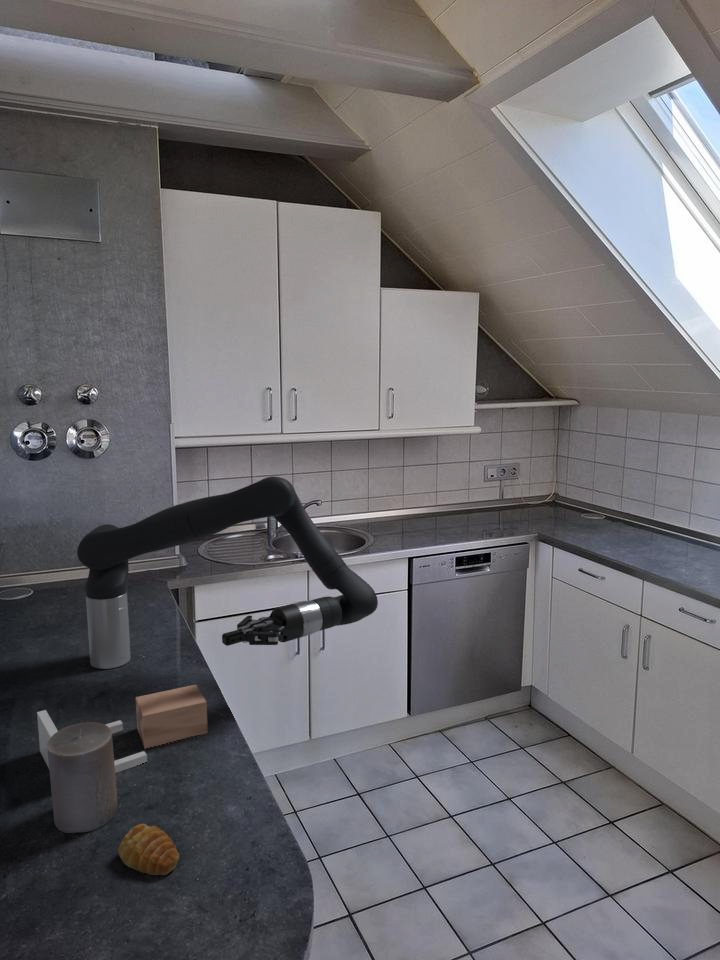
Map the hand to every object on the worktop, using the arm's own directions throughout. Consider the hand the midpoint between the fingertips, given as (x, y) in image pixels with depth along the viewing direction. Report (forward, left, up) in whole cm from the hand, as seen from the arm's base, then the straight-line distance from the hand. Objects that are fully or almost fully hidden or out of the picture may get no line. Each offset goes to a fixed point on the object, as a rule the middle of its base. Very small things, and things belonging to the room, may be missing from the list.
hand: (223, 640), depth 142 cm
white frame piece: (0, -26, -16) cm, 31 cm away
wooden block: (0, -12, -16) cm, 20 cm away
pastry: (+31, -28, -17) cm, 45 cm away
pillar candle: (+16, -33, -17) cm, 40 cm away
